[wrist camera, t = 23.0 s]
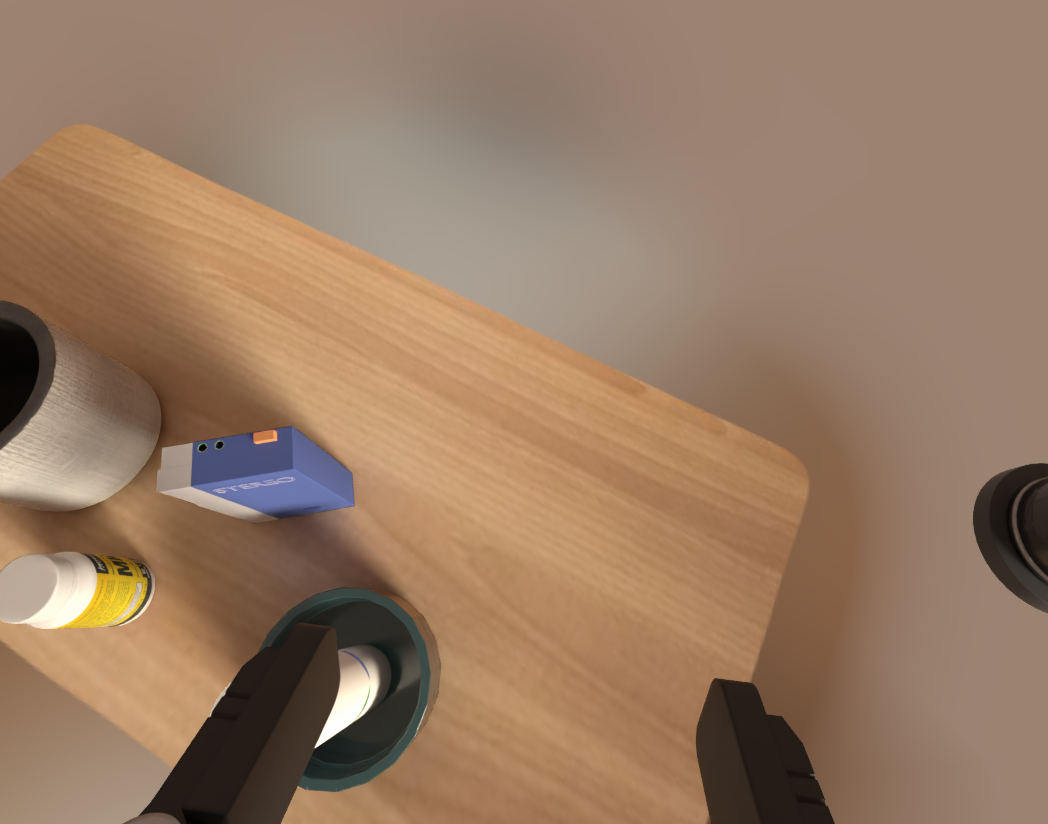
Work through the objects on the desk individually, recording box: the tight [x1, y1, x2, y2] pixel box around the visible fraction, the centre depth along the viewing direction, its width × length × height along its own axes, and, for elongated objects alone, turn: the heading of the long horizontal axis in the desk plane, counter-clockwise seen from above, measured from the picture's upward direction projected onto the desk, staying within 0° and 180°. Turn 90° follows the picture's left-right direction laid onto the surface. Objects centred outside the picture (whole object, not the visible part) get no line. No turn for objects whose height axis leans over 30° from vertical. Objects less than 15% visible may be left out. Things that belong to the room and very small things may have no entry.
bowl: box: [258, 587, 441, 792], centre depth 35 cm, size 11×11×5 cm
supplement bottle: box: [0, 552, 155, 629], centre depth 35 cm, size 5×5×8 cm
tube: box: [209, 645, 391, 748], centre depth 29 cm, size 4×4×15 cm
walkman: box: [156, 426, 354, 523], centre depth 36 cm, size 8×3×12 cm, turn 100°
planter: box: [0, 300, 161, 512], centre depth 38 cm, size 12×12×11 cm
